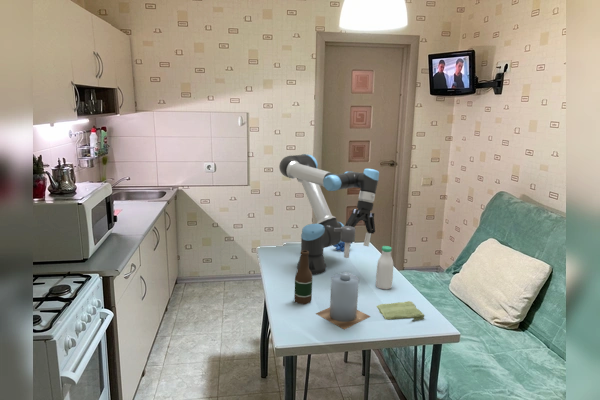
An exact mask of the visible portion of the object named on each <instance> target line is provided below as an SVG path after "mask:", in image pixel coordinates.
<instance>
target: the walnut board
mask: <svg viewBox="0 0 600 400" xmlns="http://www.w3.org/2000/svg"><path fill="white" fill-rule="evenodd" d="M315 315H317V316H319V317H321V318H322V319H325V320H326V321H328V322H330V323H331V324H333V325H335V326H337V327H339V328H341V329H343V330H346V329H349V328H351V327H353V326H355V325H357V324H358V323H361V322H363V321H365V320H366V319H369V318H371V316H370V315H368V314H367V313H365V312H363V311H361V310H359V309H357V316H356V319H355V320H353V321H349V322H341V321H337V320H334V319H333V318H331V317H330V306H329V307H327V308H325V309H323V310H320V311H318V312H316V313H315Z"/></svg>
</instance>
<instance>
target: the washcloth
mask: <svg viewBox="0 0 600 400" xmlns="http://www.w3.org/2000/svg"><path fill="white" fill-rule="evenodd" d="M376 308H377V309H378V312H379V313H380V315H382V316H383V317H384V320H387V321H388V320H391V321H392V320H403V319H412V320H411V321H419V319H421V320H423V319H424V318H425V314H424V313H423V312H422V311H420V309H419V308H417V307H416V305H415V303H414V302H413V301H411V300H407V301H402V302H393V303H392V302H391V303H381V304H378V305H376Z"/></svg>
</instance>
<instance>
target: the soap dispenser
mask: <svg viewBox="0 0 600 400" xmlns="http://www.w3.org/2000/svg"><path fill="white" fill-rule="evenodd" d="M330 278H331V281H330V282H331V284H330V299H329V307H330V317H331V318H333V319H334V320H337V321H341V322H349V321H353V320H355V319H356V316H357V310H358V301H359V299H358V297H359V287H360V286H359V284H360V279H359V277H358V276H357V275H354V274H351V273H350V272H348V271H347V272H346V271H345V272H344V271H343V272H340V273H335V274H333V275H331V277H330Z"/></svg>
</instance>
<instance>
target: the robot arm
mask: <svg viewBox="0 0 600 400" xmlns="http://www.w3.org/2000/svg"><path fill="white" fill-rule="evenodd" d="M318 167H319V165H318V161H317V159H316V157H315V156H314V155H311V154H306V153H305V154H304V153H303V154H297V155H296V154H295V155H293V154H292V155H287V156H284V157H283V158H282V160H281V161H280V162H279V171H280V173H281V175H282V176H284V177H286V178H288V179H296V180H297V182H298V183H301V184H302V187H303V190H304V192H305V195H306V198H307V200H308V202H309V204H310V206H311V209H312V212H313V214H314V216H315V220H316V223H310V224H307V225H304V226H303V227H302V229H301V235H300V237H301V238H300V239H301V242H300V243H301V244H300V247H301V248H300V252H301V251H302V250H307V251H309V254H308V262H309V269H310V271H311V273H312V275H321V274H323V273H326V270H327V264H326V261H325V260H326V259H325V257H324V248H325V249H326V248H328V247H332V246H333V245H337V244H339V243H341V242H342V241H341V240H340V238H341V232H335V231H334V228H341V227H343V226H352V227H355V228H356V226H357V224H358V223H360V221H363V222H364V226H365V228H366V231H367V232H365V236H364V242H363V246H364V247H370V241H371V239H372V234H375V233H376V225H375V213H374V212H372V211H373V208H374V202H375V200H376V199H375V197H376V192H377V188H378V183H379V181H380V180H379V178H380V172H379V170H376V169H373V168H364V170H363V172H358V171H357V172H356V171H345V172H344V173H335V172H331V171H327V170H323V169H320V168H318ZM321 186H322V187H323V188H324V189H325V190H326V191H329V192H335V191H336V192H337V191H340V190H341V191H342V190H345V189H352V188H358V189H359V188H360V189H359V194H358V200H357V203H356V208H357V209H356V208H353V209H352V211H351V214H350V216H349V217H348V219H347V220H346V223H345V224H343V223H342V222H341V221H338V219H337V217H336V216H334V215H333V214H332V212H331V210H330V207H329V205H328V203H327V200H326V198H325V195H324V193H323V190H322V188H321ZM351 244H352V243H350V245H351ZM300 260H301V255H300V257H299V259H298V261H297V266H296V268H297V270H298V269H299V268H300Z"/></svg>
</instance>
